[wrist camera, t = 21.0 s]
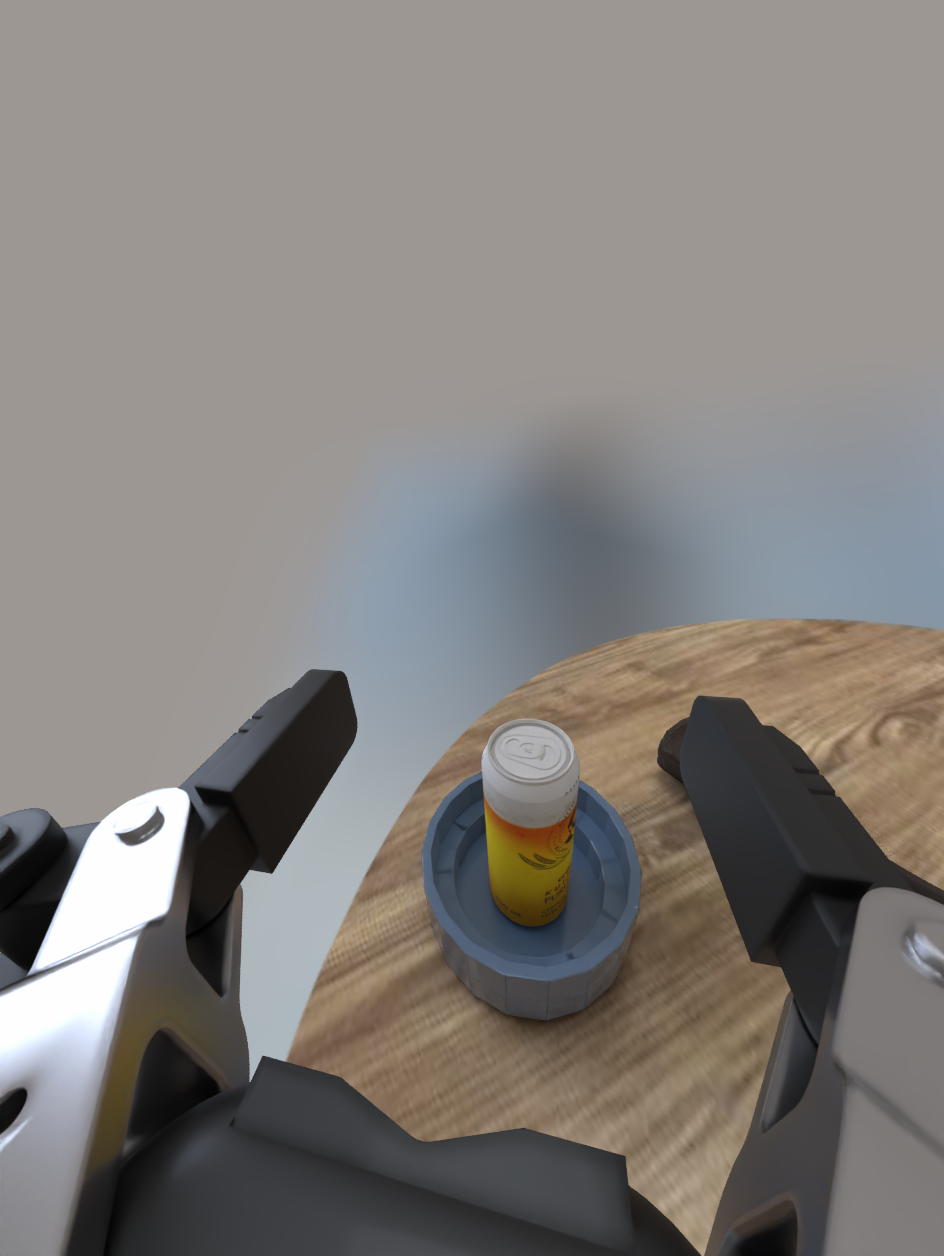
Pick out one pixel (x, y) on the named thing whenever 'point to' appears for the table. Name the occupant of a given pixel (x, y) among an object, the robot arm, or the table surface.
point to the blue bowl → (532, 955)
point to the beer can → (530, 818)
